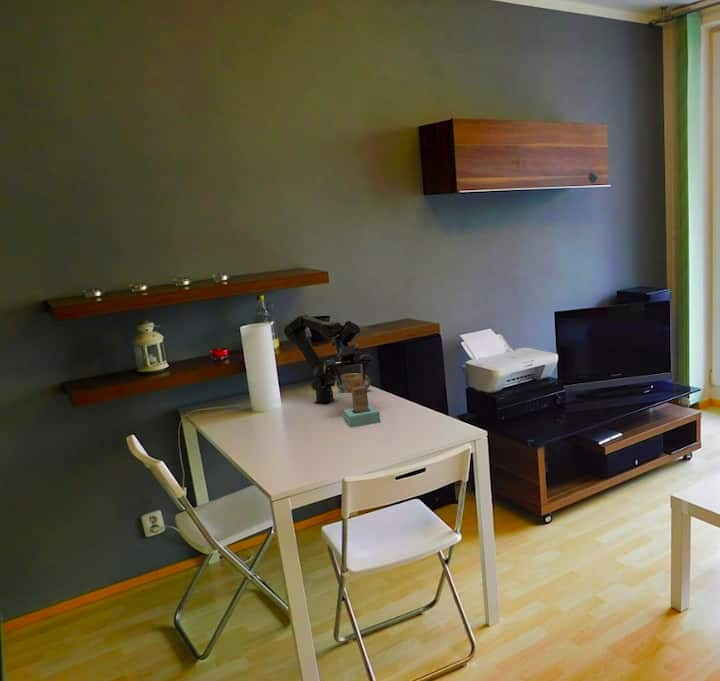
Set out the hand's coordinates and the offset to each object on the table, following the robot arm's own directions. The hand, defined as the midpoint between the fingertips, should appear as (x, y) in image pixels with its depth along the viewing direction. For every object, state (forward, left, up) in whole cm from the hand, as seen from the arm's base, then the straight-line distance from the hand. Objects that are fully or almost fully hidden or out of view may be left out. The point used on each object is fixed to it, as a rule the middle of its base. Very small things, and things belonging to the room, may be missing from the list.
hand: (353, 382), depth 235 cm
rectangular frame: (+6, -5, -13) cm, 15 cm away
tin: (-17, +30, -14) cm, 37 cm away
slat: (+6, -5, -13) cm, 15 cm away
